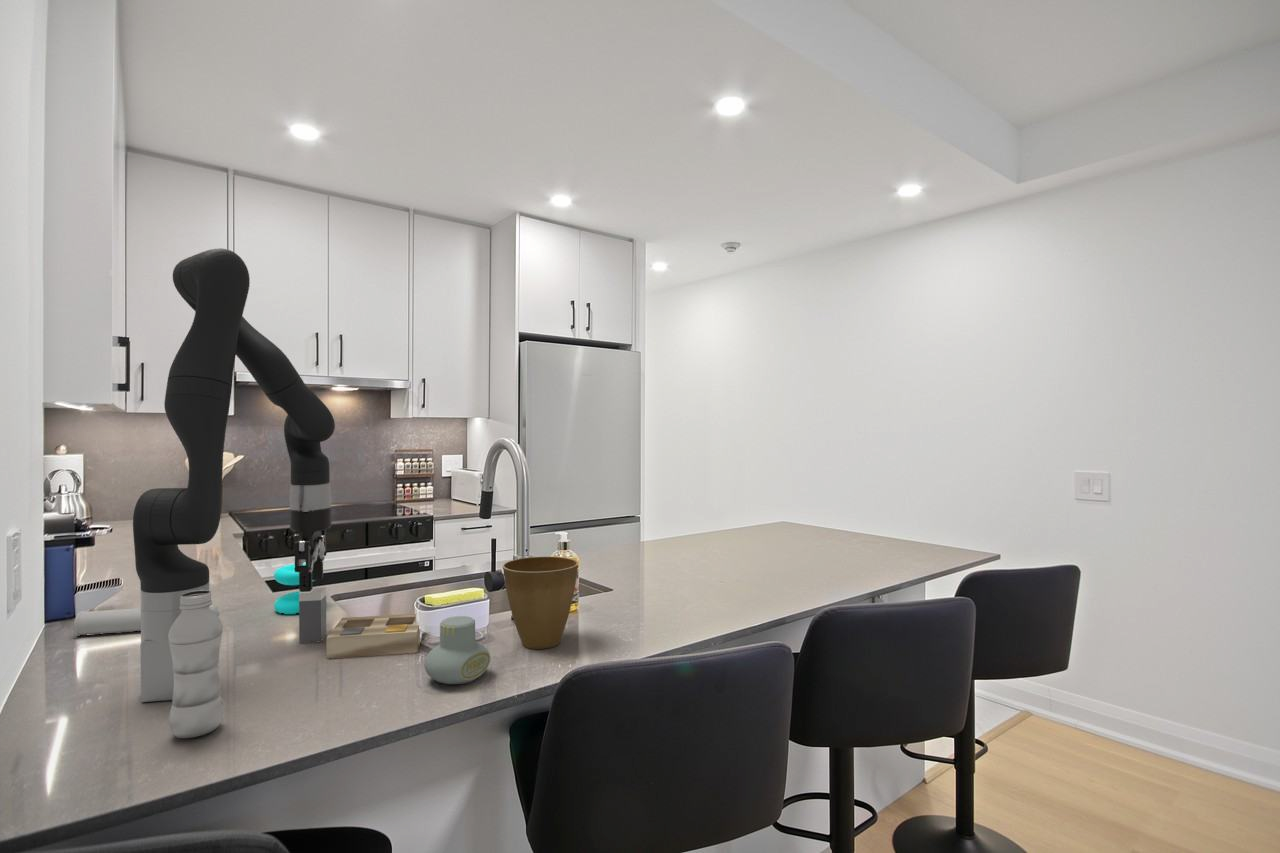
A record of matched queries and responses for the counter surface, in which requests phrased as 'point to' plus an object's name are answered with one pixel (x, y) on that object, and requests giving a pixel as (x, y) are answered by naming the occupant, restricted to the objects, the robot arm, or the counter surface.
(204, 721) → the plastic bottle
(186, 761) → the counter surface
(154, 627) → the robot arm
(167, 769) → the counter surface
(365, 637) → the socket block
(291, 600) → the donuts
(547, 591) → the plant pot
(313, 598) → the plug
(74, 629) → the tube
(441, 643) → the air freshener
